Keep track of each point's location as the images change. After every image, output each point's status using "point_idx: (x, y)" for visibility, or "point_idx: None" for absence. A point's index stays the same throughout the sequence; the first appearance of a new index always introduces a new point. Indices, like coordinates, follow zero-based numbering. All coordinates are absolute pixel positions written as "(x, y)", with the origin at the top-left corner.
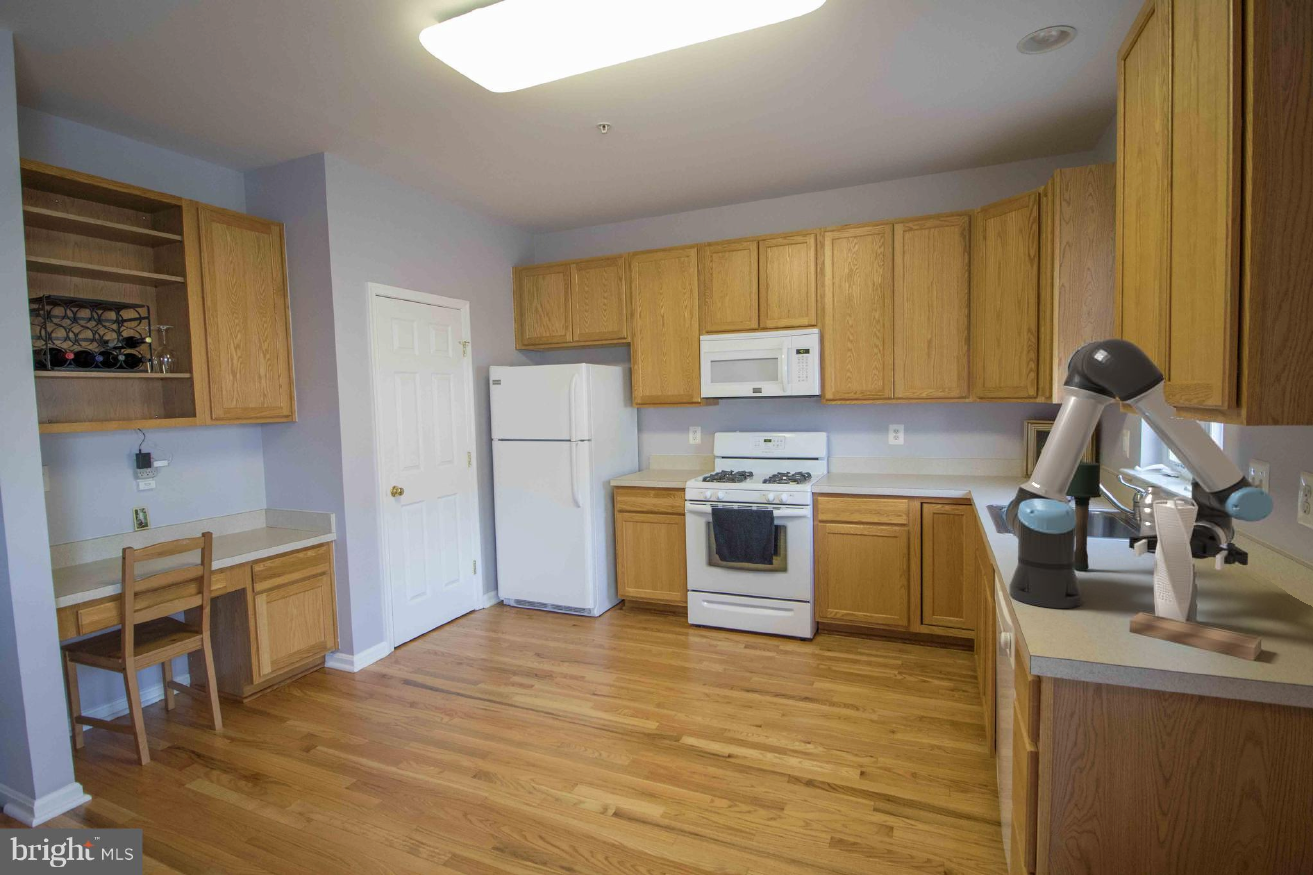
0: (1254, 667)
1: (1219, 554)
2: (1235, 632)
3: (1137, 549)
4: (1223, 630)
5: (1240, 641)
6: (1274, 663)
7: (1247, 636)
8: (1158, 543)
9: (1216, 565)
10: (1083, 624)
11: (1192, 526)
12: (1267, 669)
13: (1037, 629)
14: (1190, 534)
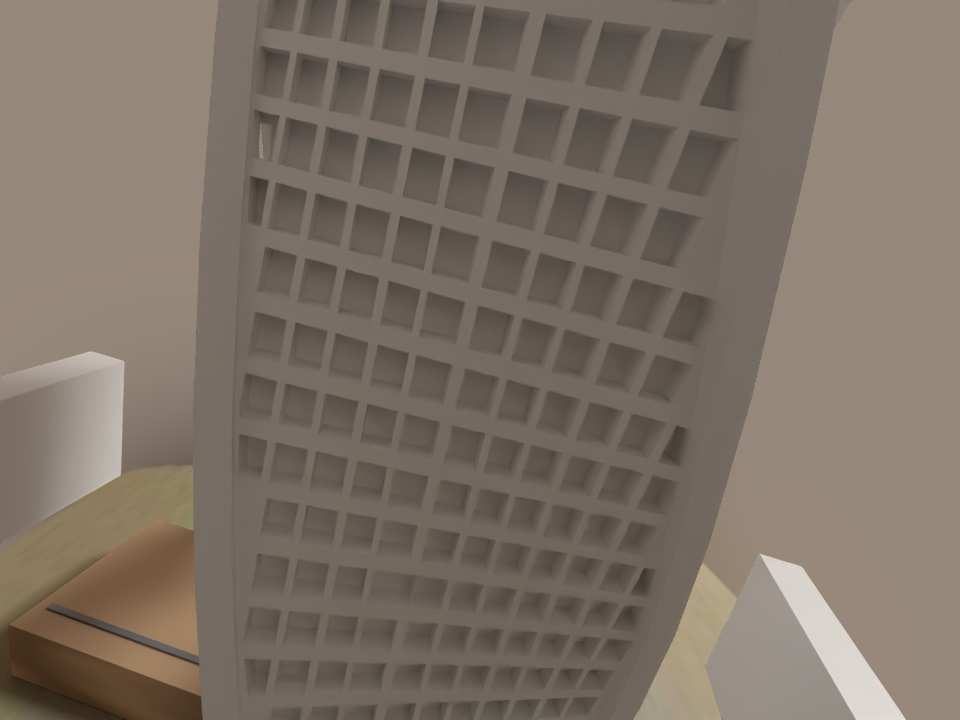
0: (190, 518)
1: (18, 386)
2: (100, 656)
3: (745, 602)
4: (151, 662)
5: (167, 555)
6: (85, 560)
7: (82, 614)
8: (637, 631)
9: (115, 441)
10: (659, 696)
11: (236, 135)
12: (157, 515)
13: (709, 589)
14: (230, 329)
